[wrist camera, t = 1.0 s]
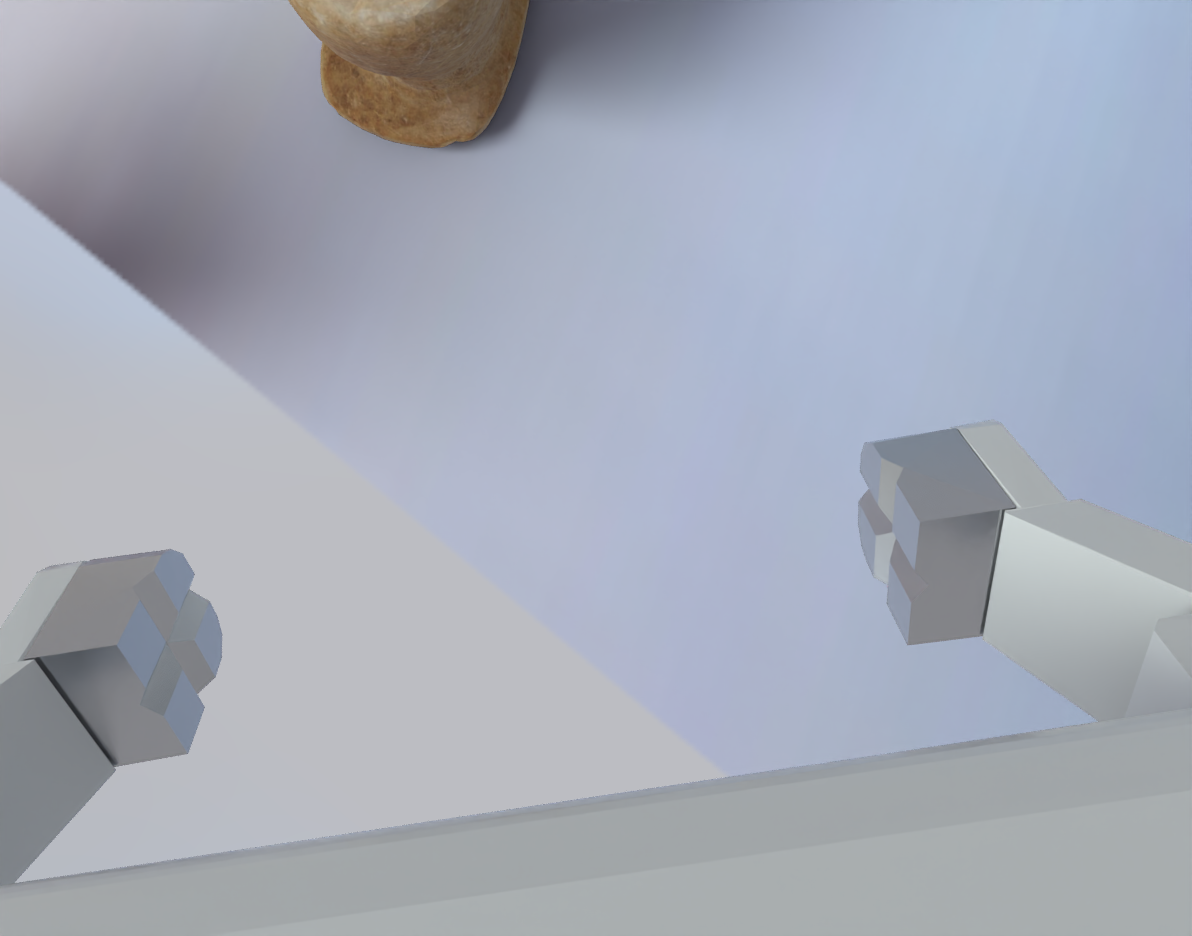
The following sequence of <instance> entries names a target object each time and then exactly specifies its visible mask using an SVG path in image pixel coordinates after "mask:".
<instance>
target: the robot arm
mask: <svg viewBox="0 0 1192 936" xmlns="http://www.w3.org/2000/svg"><path fill="white" fill-rule="evenodd" d="M860 473H861V474H862V476H863V478H864V480H865V482H866V484H867V486H868V488H869V489H868V490H867V492H866V493H865V494H864V495H863V497H862V498H861V499H860V500H859V502H858V526H859V533H860V539H861V546H862V549H863V552H864V555H865V558H866V562H867V564H868V566H869V568H870V570H871V572H872V575H873V577H874V578H876V579H878V580H880V581H881V582H883V583H885V584H887V585H888V592H887V605H888V607H889V609H890V611H891V613H892V615H893V617H894V619H895V621H896V623H897V625H898V627H899V629H900V631H901V633H902V635H903V637H904V639H905V641H906V643H907V645H914V644H922V643H931V642H939V641H947V640H955V639H963V638H971V637H979V636H983V640H984V641H985V642H987V643H988V644H990V645H991V646H992V647H994V648H995V649H997V650H998V651H1000V652H1001V653H1002V654H1004V655H1005V656H1007V657H1008V658H1009V659H1011V660H1012V661H1014V662H1015V663H1016V664H1018V665H1019V666H1021V667H1022V668H1024V669H1025V670H1026V671H1028V672H1029V673H1031V674H1032V675H1033V676H1035V677H1036V678H1038V679H1039V680H1040V681H1042V682H1043V683H1045V684H1046V685H1048V686H1049V687H1050V688H1052V689H1053V690H1055V691H1056V692H1057V693H1059V694H1060V695H1062V696H1063V697H1064V698H1066V699H1067V700H1069V701H1070V702H1072V703H1073V704H1074V705H1076V706H1077V707H1079V708H1080V709H1081V710H1083V711H1084V712H1086V713H1087V714H1088V715H1090V716H1091V717H1093V718H1094V719H1096V720H1097V721H1098V722H1094V723H1087V724H1080V725H1073V726H1067V727H1060V728H1053V729H1047V730H1040V731H1033V732H1026V733H1020V734H1013V735H1006V736H1000V737H993V738H987V739H980V740H973V741H967V742H960V743H953V744H947V745H940V746H934V747H927V748H920V749H914V750H907V751H900V752H894V753H887V754H880V755H874V756H867V757H860V758H854V759H847V760H840V761H833V762H827V763H820V764H813V765H806V766H799V767H793V768H786V769H779V770H772V771H766V772H759V773H752V774H745V775H738V776H732V777H725V778H718V779H711V780H704V781H698V782H692V783H684V784H678V785H671V786H664V787H657V788H650V789H643V790H637V791H630V792H624V793H617V794H610V795H603V796H596V797H589V798H583V799H576V800H570V801H563V802H556V803H550V804H543V805H536V806H530V807H523V808H516V809H509V810H503V811H497V812H490V813H482V814H476V815H470V816H462V817H456V818H450V819H442V820H436V821H429V822H423V823H415V824H409V825H402V826H395V827H389V828H382V829H375V830H369V831H362V832H355V833H349V834H342V835H335V836H329V837H322V838H315V839H308V840H302V841H295V842H288V843H282V844H275V845H269V846H261V847H255V848H249V849H242V850H235V851H228V852H221V853H215V854H208V855H202V856H195V857H188V858H181V859H174V860H167V861H161V862H154V863H148V864H141V865H134V866H127V867H120V868H114V869H108V870H100V871H94V872H87V873H81V874H74V875H67V876H60V877H54V878H47V879H40V880H34V881H27V882H20V883H15V881H16V880H17V879H18V878H19V877H20V876H21V875H22V873H24V871H25V870H26V869H27V868H28V867H29V866H30V865H31V864H32V863H33V862H34V860H35V859H36V858H37V857H38V856H39V855H40V854H41V853H42V851H44V849H45V848H46V847H47V846H48V845H49V844H50V843H51V842H52V840H53V839H54V838H55V837H56V836H57V835H58V834H59V833H60V831H62V830H63V828H64V827H65V826H66V825H67V824H68V823H69V822H70V821H71V820H72V818H73V817H74V816H75V815H76V814H77V813H78V812H79V811H80V810H81V809H82V807H83V806H84V805H85V804H86V803H87V802H88V801H89V800H90V799H91V797H92V796H93V795H94V794H95V793H96V792H97V791H98V790H99V789H100V788H101V786H102V785H103V784H104V783H105V782H106V781H107V780H108V779H109V778H110V776H111V775H112V774H113V773H114V772H115V771H116V769H115V768H114V767H117V766H122V765H128V764H133V763H139V762H145V761H150V760H156V759H162V758H167V757H173V756H179V755H184V754H188V752H189V749H190V747H191V744H192V741H193V738H194V735H195V733H196V730H197V727H198V724H199V722H200V719H201V716H202V713H203V711H204V708H205V707H204V705H203V703H202V702H201V700H200V698H199V697H198V695H197V694H198V693H199V692H200V691H201V690H202V689H203V688H204V687H205V686H207V685H208V684H209V683H210V682H211V681H212V680H213V679H214V678H215V677H216V674H217V671H218V668H219V664H220V661H221V658H222V632H221V628H220V624H219V621H218V617H217V615H216V613H215V611H214V609H213V607H212V605H211V603H210V601H208V600H207V599H205V598H203V597H201V596H200V595H198V594H196V593H195V592H193V591H191V590H190V586H191V584H192V581H193V578H194V575H195V574H194V572H193V570H192V569H191V567H190V565H189V564H188V562H187V560H186V559H185V557H184V555H183V554H182V553H180V552H177V551H174V550H171V549H168V550H161V551H153V552H146V553H138V554H131V555H123V556H116V557H108V558H101V559H93V560H90V561H80V562H73V563H67V564H61V565H53V566H49V567H47V568H45V569H43V570H41V571H39V572H37V573H36V575H35V576H34V578H33V580H32V581H31V582H30V584H29V585H28V587H27V588H26V590H25V591H24V593H23V594H22V596H21V597H20V599H19V601H18V602H17V604H16V605H15V607H14V608H13V610H12V611H11V613H10V614H9V616H8V617H7V619H6V620H5V622H4V623H3V625H2V626H1V628H0V936H1192V544H1191V543H1189V542H1186V541H1184V540H1181V539H1179V538H1176V537H1174V536H1171V535H1169V534H1166V533H1164V532H1162V531H1159V530H1157V529H1154V528H1152V527H1149V526H1147V525H1144V524H1142V523H1139V522H1137V521H1134V520H1132V519H1129V518H1127V517H1124V516H1122V515H1119V514H1117V513H1115V512H1112V511H1110V510H1107V509H1105V508H1102V507H1100V506H1097V505H1095V504H1092V503H1090V502H1087V501H1085V500H1082V499H1078V500H1071V501H1068V500H1067V499H1066V498H1065V497H1064V496H1063V495H1062V493H1061V492H1060V491H1059V490H1058V489H1057V488H1056V486H1055V485H1054V484H1053V483H1052V482H1051V481H1050V479H1049V478H1048V477H1047V476H1046V475H1045V473H1044V472H1043V471H1042V470H1041V469H1040V468H1039V466H1038V465H1037V464H1036V463H1035V462H1034V461H1033V459H1032V458H1031V457H1030V456H1029V455H1028V454H1027V452H1026V451H1025V450H1024V449H1023V448H1022V447H1021V445H1020V444H1019V443H1018V442H1017V441H1016V440H1015V438H1014V437H1013V436H1012V435H1011V434H1010V432H1009V431H1008V430H1007V429H1006V428H1005V427H1004V425H1003V424H1002V423H1000V422H998V421H995V420H988V421H983V422H977V423H972V424H966V425H961V426H955V427H950V429H946V430H940V431H934V432H928V433H921V434H915V435H909V436H903V437H897V438H890V439H884V440H878V441H872V442H865V443H864V446H863V449H862V452H861V463H860Z"/></svg>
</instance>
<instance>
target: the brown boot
mask: <svg viewBox="0 0 1192 936" xmlns="http://www.w3.org/2000/svg"><path fill="white" fill-rule="evenodd" d="M288 1H289V2H290V4H291V5H292V7H293V8H294V9H295V11H296V12H297V13H298V15H299V16H300V17H301V19H302V20H303V21H304V22H305V24H306V25H307V26H308V27H309V29H310V30H311V31H312V32H313V33H314V34H315V35H316V36H317V37H318V38H319V39H320V40H321V41H322V48H321V83H322V90H323V93H324V96H325V97H326V99H327V101H328V103H329V104H330V105H332V106H333V107H334V108H335V109H336V110H337V112H338V113H339V115H341V116H342V117H344V118H345V119H347V120H348V121H350V122H352V123H353V124H355V125H356V126H358V127H360V128H361V129H363V130H366V131H368V132H370V133H372V134H374V135H377V136H379V137H381V138H383V139H385V140H389V141H393V142H397V143H401V144H406V145H411V146H419V147H427V148H440V147H444V146H447V145H449V144H451V143H453V142H455V141H460V142H465V141H469V140H473V139H475V138H476V137H477V136H478V135H480V134H481V133H482V132H483V131H484V130H485V128H486V127H487V126H488V124H489V123H490V121H491V120H492V118H493V116H494V114H495V112H496V110H497V108H498V106H499V104H500V102H501V100H502V98H503V96H504V93H505V91H506V88H507V86H508V83H509V81H510V78H511V75H512V72H513V69H514V67H515V63H516V59H517V56H518V52H519V48H520V44H521V40H522V36H523V31H524V26H525V21H526V16H527V11H528V6H529V1H530V0H288Z"/></svg>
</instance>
